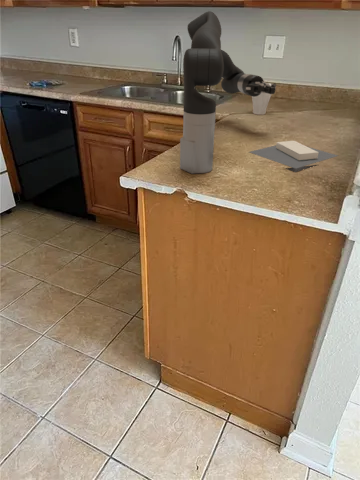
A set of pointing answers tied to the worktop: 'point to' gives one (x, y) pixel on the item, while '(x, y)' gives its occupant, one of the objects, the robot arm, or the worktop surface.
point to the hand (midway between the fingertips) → (273, 90)
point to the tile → (297, 150)
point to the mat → (291, 158)
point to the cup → (260, 103)
